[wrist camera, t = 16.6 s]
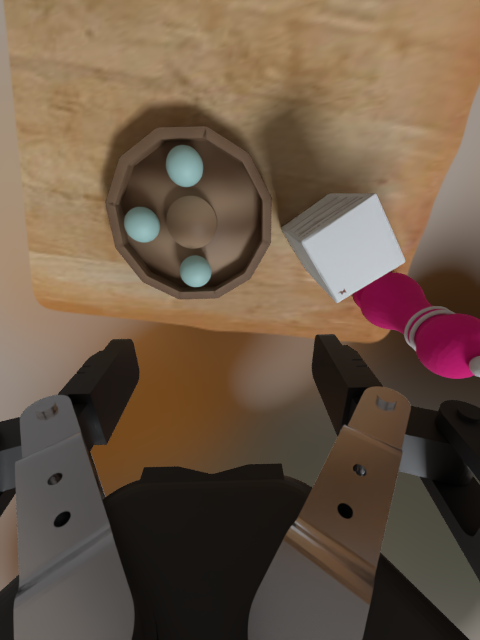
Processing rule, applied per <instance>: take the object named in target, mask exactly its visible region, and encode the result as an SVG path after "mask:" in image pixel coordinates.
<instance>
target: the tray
mask: <svg viewBox="0 0 480 640" xmlns="http://www.w3.org/2000/svg"><path fill="white" fill-rule="evenodd" d="M179 145H187V146H190V147H192V148H193V149H195V150H196V151H197V152H198V154H199V155H200V157H201V159H202V162H203V174H202V177H201V179H200V180H199V181H198V183H196V184H195V185H193V186H191V187H182V186H179V185H177V184H176V183H174V182H173V181H172V180H171V178H170V177H169V175H168V173H167V170H166V159H167V156H168V154H169V152H170V151H171V150H172V149H173V148H174V147H176V146H179ZM248 154H249V153H247V152H246V151H244V150H243V149H241V148H239V147H238V146H236V145H235V144H233V143H232V142H230V141H229V140H227V139H225V138H224V137H222V136H221V135H219V134H218V133H216V132H215V131H213V130H211V129H210V128H208V127H206V126H195V127H158V128H156V129H155V130H153V131H152V132H151V133H150V134H148V135H147V136H146V137H144V138H143V139H142V140H141V141H139V142H138V143H137V144H136V145H134V146H133V147H132V148H131V149H129V150H128V151H127V152H126V153H124V154H123V155H122V156H120V158H119V161H118V164H117V167H116V171H115V174H114V177H113V180H112V184H111V187H110V190H109V193H108V196H107V200H106V202H107V203H106V207H107V211H108V216H109V220H110V225H111V230H112V234H113V239H114V243H115V247H117V248H116V249H117V250H118V252H119V253H120V254H121V255H122V257H123V258H124V259H125V260H126V262H127V263H128V264H129V265H130V267H131V268H132V269H133V270H134V272H135V273H136V274H137V275H138V277H139V278H140V279H141V280H142V282H144V283H146V284H148V285H150V286H152V287H154V288H156V289H159V290H161V291H163V292H165V293H167V294H169V295H171V296H173V297H175V298H177V299H210V298H219V297H220V296H222V295H224V294H225V293H227V292H229V291H230V290H232V289H234V288H236V287H237V286H239V285H241V284H242V283H244V282H246V281H247V280H249V279H250V278H251V277H252V275H253V273H254V271H255V270H256V268H257V266H258V264H259V263H260V261H261V259H262V258H263V256H264V254H265V252H266V251H267V249H268V247H269V245H270V243H271V207H272V198H271V196H270V194H269V192H268V190H267V188H266V186H265V184H264V182H263V180H262V178H261V176H260V174H259V172H258V170H257V168H256V166H255V164H254V162H253V160H252V158H251V156H250V154H249V155H248ZM135 207H145V208H148V209H150V210H151V211H153V212H154V213H155V214H156V216H157V217H158V219H159V222H160V231H159V234H158V235H157V237H156V238H155V239H154V240H152V241H150V242H145V243H143V242H138V241H136V240H134V239H132V238H131V237H130V236H129V235H128V233H127V232H126V230H125V227H124V219H125V216H126V214H127V213H128V211H130V210H131V209H132V208H135ZM193 255H197V256H201V257H203V258H205V259H206V260H207V261H208V262H209V264H210V266H211V277H210V279H209V281H208V282H207V283H206V284H205V285H203V286H201V287H191V286H189V285H187V284H186V283H185V282H184V281H183V280H182V278H181V276H180V266H181V264H182V262H183V261H184V260H185V259H186V258H187V257H189V256H193Z"/></svg>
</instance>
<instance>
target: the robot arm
mask: <svg viewBox="0 0 480 640" xmlns="http://www.w3.org/2000/svg"><path fill="white" fill-rule="evenodd" d="M312 374H313V378H314V381H315V383H316V386H317V388H318V391H319V393H320V395H321V398H322V400H323V403H324V405H325V407H326V410H327V412H328V415H329V417H330V420H331V422H332V425H333V427H334V429H335V432H336V434H337V439H336V441H335V443H334V445H333V448H332V449H331V452H330V454H329V456H328V458H327V460H326V462H325V464H324V466H323V468H322V470H321V472H320V474H319V476H318V478H317V480H316V482H315V484H314V486H313V488H312V487H310V486H309V485H307V484H306V483H304V482H302V481H299V480H297V479H295V478H292V477H289V476H285V475H283V469H282V464H254V465H253V464H250V465H245V466H241V467H238V468H234V469H230V470H226V471H223V472H219V473H215V474H208V473H204V472H199V471H195V470H191V469H186V468H182V467H145V468H144V469H143V473H142V476H141V479H140V480H138V481H135V482H132V483H129V484H127V485H125V486H123V487H121V488H119V489H117V490H116V491H114V492H113V493H111V494H109V495H108V496H107V497H105V494H104V491H103V488H102V485H101V482H100V479H99V477H98V473H97V470H96V467H95V464H94V461H93V458H92V455H91V453H90V451H91V449H92V447H93V445H103V444H104V445H106V444H107V443H108V441H109V439H110V437H111V435H112V433H113V431H114V429H115V427H116V425H117V423H118V421H119V419H120V417H121V415H122V413H123V411H124V409H125V407H126V405H127V403H128V401H129V399H130V397H131V395H132V393H133V391H134V389H135V387H136V385H137V383H138V380H139V366H138V362H137V357H136V352H135V348H134V343H133V341H132V340H131V339H113V340H111V341H110V343H109V344H108V345H107V346H106V348H105V349H104V350H103V351H99V352H97V353H96V354H94V355H93V356H91V357H90V358H89V359H88V360H87V361H86V362H85V363H84V364H83V366H82V367H81V368H80V369H79V370H78V372H77V374H75V375H74V376H73V377H72V378H71V379H70V381H69V382H68V383H67V384H66V386H65V387H64V388H63V389H62V390H61V391H60V392H59V394H58V395H53V396H49V397H46V398H43V399H40V400H39V401H36V402H35V403H33V404H31V405H30V406H29V407H27V408H26V409H25V410H24V411H23V413H22V414H21V416H20V417H18V418H14V419H10V420H6V421H2V422H0V516H1V515H2V513H3V512H4V510H5V509H6V507H7V506H8V504H9V502H10V501H11V500H12V498H13V497H14V495H15V494H16V510H17V533H18V560H19V575H18V576H17V577H16V578H15V579H14V580H12V581H11V582H10V583H9V584H8V585H7V586H6V587H5V588H4V589H2V590H1V591H0V640H469V639H468V638H467V637H466V636H465V635H464V634H463V633H462V632H461V631H460V630H459V629H458V628H457V627H456V626H455V625H454V624H453V623H452V622H451V621H450V620H449V619H448V618H447V617H446V616H445V615H444V614H443V613H442V612H441V611H440V610H439V609H438V608H437V607H436V606H435V605H433V603H432V602H431V601H430V600H429V599H427V598H426V597H425V596H424V595H423V594H422V593H421V592H420V591H419V590H418V589H417V588H416V587H415V586H414V585H413V584H412V583H411V582H410V581H409V580H408V579H407V578H406V577H405V576H404V575H403V574H402V573H401V572H400V571H399V570H398V569H397V568H396V567H395V566H394V565H393V564H392V563H391V562H390V561H389V560H387V558H386V557H385V556H384V555H383V554H382V553H381V552H380V551H381V546H382V541H383V538H384V533H385V529H386V524H387V520H388V515H389V511H390V506H391V502H392V498H393V493H394V489H395V484H396V480H397V476H398V471H401V472H405V473H409V474H413V475H417V476H419V477H420V478H421V480H422V482H423V484H424V485H425V487H426V489H427V491H428V492H429V494H430V496H431V497H432V499H433V501H434V503H435V504H436V506H437V508H438V509H439V511H440V513H441V515H442V516H443V518H444V520H445V522H446V524H447V525H448V527H449V529H450V530H451V532H452V534H453V536H454V537H455V539H456V541H457V542H458V544H459V546H460V548H461V550H462V551H463V553H464V555H465V557H466V558H467V560H468V562H469V563H470V565H471V567H472V569H473V570H474V572H475V574H476V576H477V577H478V579H479V581H480V485H479V483H478V482H477V481H476V479H475V478H474V477H473V476H474V475H475V476H476V477H477V479H478V480H479V481H480V408H479V407H477V406H474V405H472V404H469V403H466V402H462V401H457V400H448V401H444V402H443V403H441V405H440V407H439V410H438V411H434V410H429V409H423V408H419V407H414V406H411V405H410V403H409V401H408V400H407V399H406V398H405V397H404V396H403V395H402V394H400V393H398V392H396V391H395V390H392V389H389V388H386V387H383V386H382V384H381V383H380V382H379V380H378V379H377V378H376V377H375V375H374V374H373V372H372V371H371V370H370V368H369V367H367V364H366V363H365V362H364V361H363V359H362V358H361V356H360V355H359V354H358V352H357V351H355V350H354V349H352V348H351V347H349V346H348V345H342V344H341V343H340V341H339V340H338V338H337V337H336V336H335V335H334V334H325V335H316V337H315V342H314V352H313V359H312Z"/></svg>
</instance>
